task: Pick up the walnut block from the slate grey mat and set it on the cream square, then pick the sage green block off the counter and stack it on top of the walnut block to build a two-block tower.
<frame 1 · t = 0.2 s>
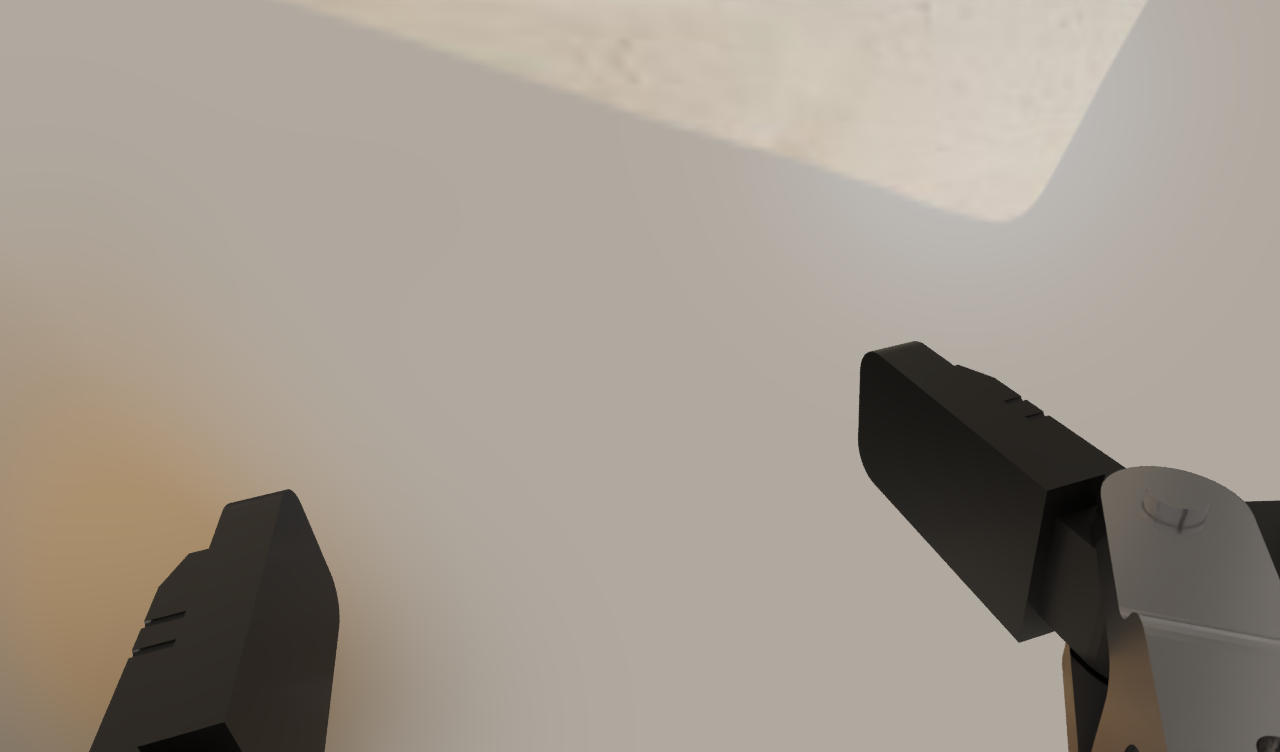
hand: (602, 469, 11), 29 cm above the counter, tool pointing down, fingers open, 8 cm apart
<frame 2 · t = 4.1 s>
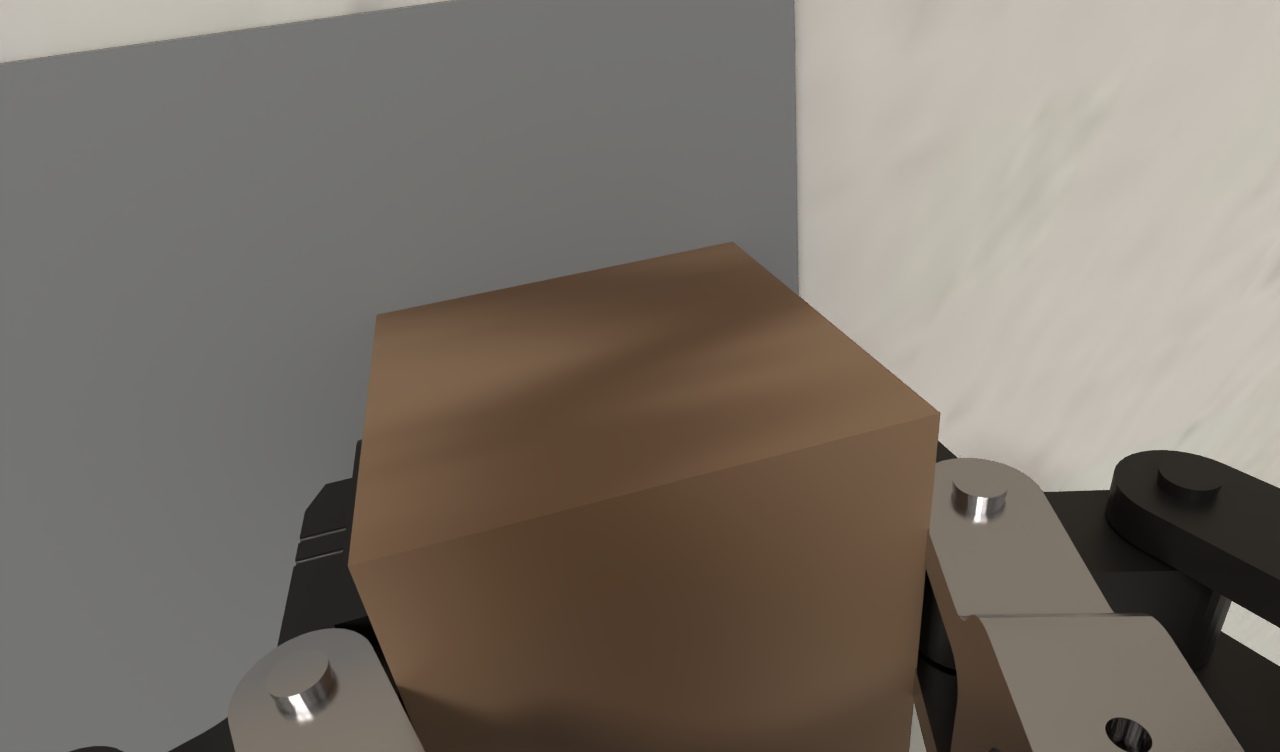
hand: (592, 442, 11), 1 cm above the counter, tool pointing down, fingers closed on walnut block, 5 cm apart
build mat: (73, 528, 11), on the counter
walnut block: (588, 427, 12), point 1 cm above the counter, touching build mat, gripper
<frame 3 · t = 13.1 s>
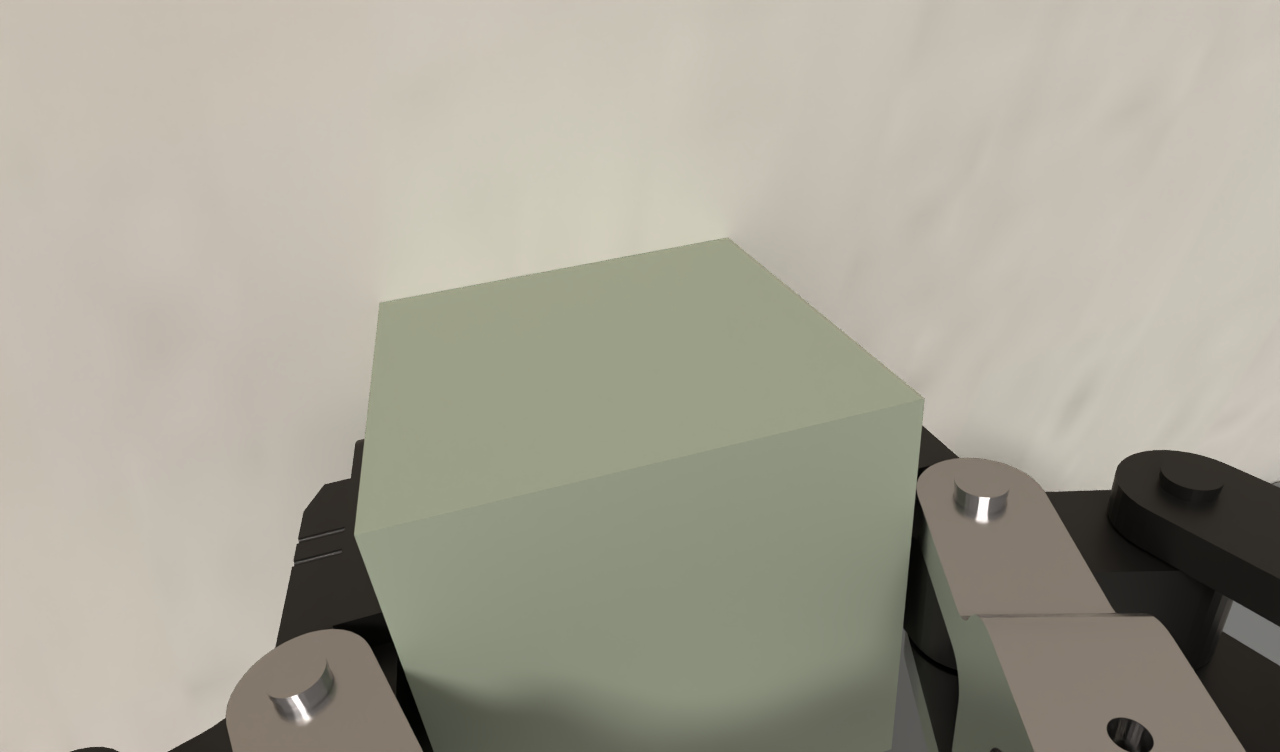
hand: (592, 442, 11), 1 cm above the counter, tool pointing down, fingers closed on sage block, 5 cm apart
sage block: (585, 418, 12), on the counter, touching gripper
when the fingers open (7 cm above the counter, at t = 18.5 s): sage block stays where it is, resting on walnut block.
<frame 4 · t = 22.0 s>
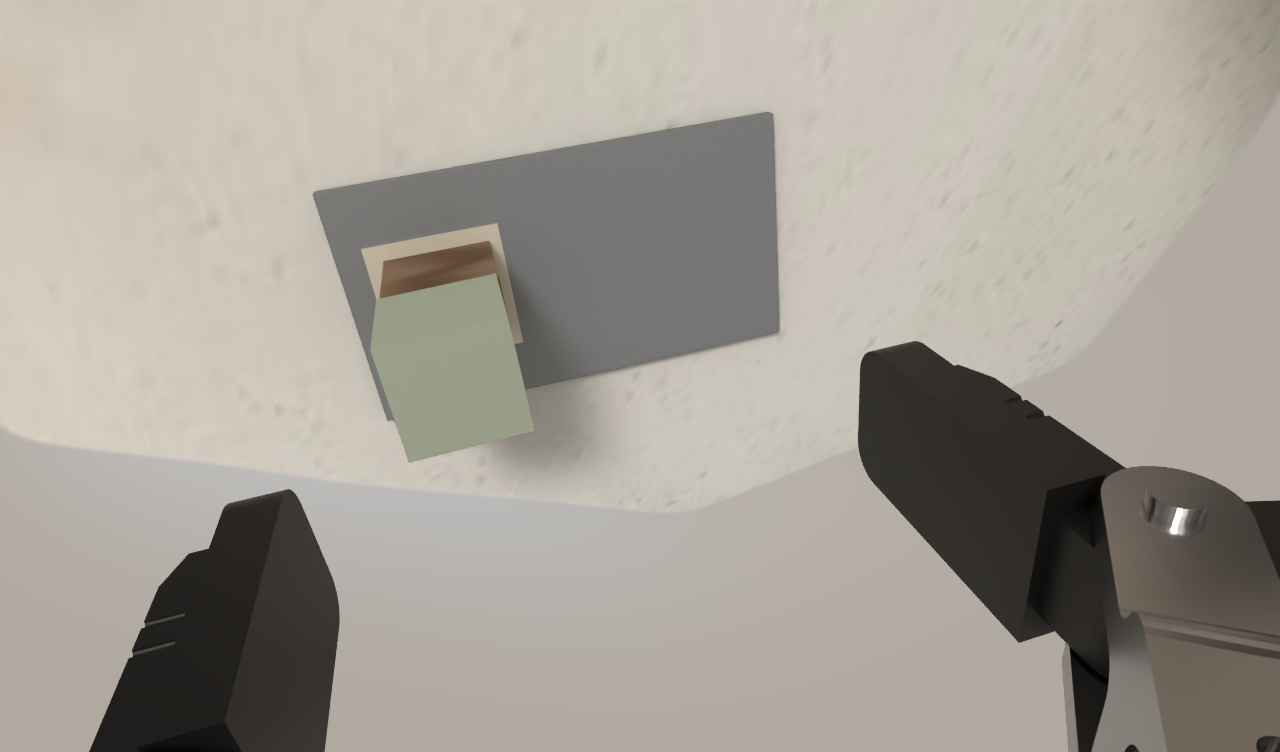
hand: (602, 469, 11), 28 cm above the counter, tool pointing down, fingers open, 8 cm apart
build mat: (572, 267, 39), on the counter
walnut block: (449, 298, 37), point 1 cm above the counter, touching build mat, sage block
sage block: (451, 339, 33), point 6 cm above the counter, touching walnut block
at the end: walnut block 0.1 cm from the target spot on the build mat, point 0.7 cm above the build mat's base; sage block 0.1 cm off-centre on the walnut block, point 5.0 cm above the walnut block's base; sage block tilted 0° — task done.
